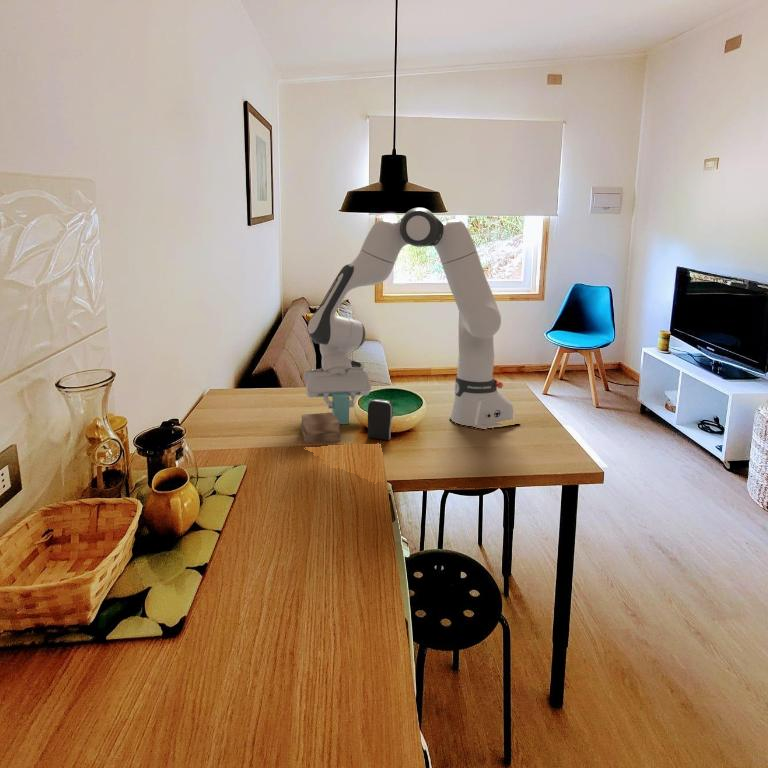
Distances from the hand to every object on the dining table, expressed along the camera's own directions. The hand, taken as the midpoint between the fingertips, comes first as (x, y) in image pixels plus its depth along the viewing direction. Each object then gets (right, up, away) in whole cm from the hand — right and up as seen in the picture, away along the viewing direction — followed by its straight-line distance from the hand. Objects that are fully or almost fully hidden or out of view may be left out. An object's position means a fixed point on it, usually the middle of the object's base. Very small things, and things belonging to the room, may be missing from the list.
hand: (341, 407), depth 186 cm
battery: (+12, -9, -10) cm, 18 cm away
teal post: (0, -5, +2) cm, 5 cm away
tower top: (-5, -6, -11) cm, 14 cm away
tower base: (-5, -8, -10) cm, 14 cm away
